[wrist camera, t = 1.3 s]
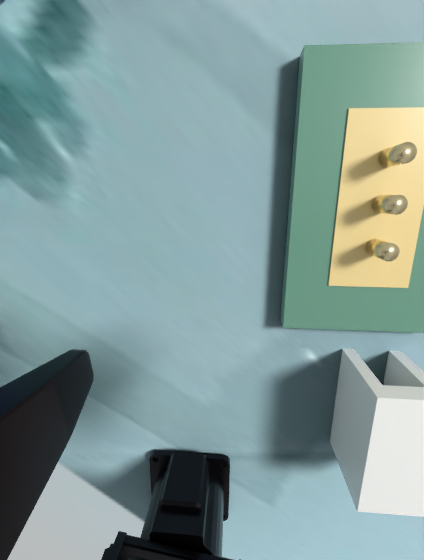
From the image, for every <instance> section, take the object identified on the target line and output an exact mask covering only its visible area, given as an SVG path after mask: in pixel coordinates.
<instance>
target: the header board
mask: <svg viewBox="0 0 424 560" xmlns="http://www.w3.org/2000/svg"><path fill="white" fill-rule="evenodd" d="M280 321H281V323H282V326H283V328H306V329H333V330H360V331H386V332H413V333H424V42H421V43H382V44H343V45H305V46H304V48H303V50H302V52H301V55H300V61H299V74H298V88H297V101H296V115H295V129H294V142H293V156H292V170H291V183H290V197H289V210H288V224H287V238H286V251H285V265H284V278H283V292H282V306H281V319H280Z"/></svg>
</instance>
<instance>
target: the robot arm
mask: <svg viewBox="0 0 424 560" xmlns="http://www.w3.org/2000/svg"><path fill="white" fill-rule="evenodd" d="M93 377H94V375H93V369H92V365H91V361H90V356H89V353H88V352H87V351H86V350H76V349H73V350H69V351H68V352H66V353H64V354H62V355H60V356H58V357H56V358H54V359H53V360H51V361H49V362H47V363H45V364H43V365H41V366H39V367H38V368H36V369H34V370H32V371H30V372H28V373H26V374H25V375H23V376H21V377H19V378H17V379H15V380H13V381H11V382H10V383H8V384H6V385H4V386H2V387H0V560H7V559H8V557H9V555H10V553H11V551H12V549H13V547H14V545H15V543H16V541H17V539H18V538H19V536H20V534H21V532H22V530H23V528H24V526H25V524H26V522H27V520H28V518H29V516H30V514H31V513H32V511H33V509H34V507H35V505H36V503H37V501H38V499H39V497H40V495H41V493H42V491H43V489H44V488H45V486H46V484H47V482H48V480H49V478H50V476H51V474H52V472H53V470H54V468H55V466H56V464H57V463H58V461H59V459H60V457H61V455H62V453H63V451H64V449H65V447H66V445H67V443H68V441H69V439H70V437H71V435H72V432H73V430H74V428H75V425H76V423H77V420H78V418H79V415H80V413H81V410H82V408H83V405H84V403H85V400H86V398H87V395H88V393H89V390H90V388H91V385H92V383H93ZM155 457H157V458H155ZM223 462H225V463H223ZM229 473H230V459H229V457H228V456H226V455H215V454H200V453H185V452H171V451H153V452H152V453H151V456H150V474H151V492H152V498H151V502H150V505H149V509H148V512H147V516H146V520H145V523H144V527H143V531H142V534H141V538H138V537H134V536H129V535H127V533H125V532H118V534H117V537H116V539H115V542H114V544H111V545H110V547H109V548H107V549H105V551H104V554H103V557H102V559H101V560H232V559H228V558H224V557H222V534H223V521H225V520H227V519H228V506H229ZM239 560H240V559H239Z"/></svg>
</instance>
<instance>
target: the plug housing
mask: <svg viewBox="0 0 424 560" xmlns="http://www.w3.org/2000/svg"><path fill="white" fill-rule="evenodd" d="M330 443H331V445H332V448H333V451H334V453H335V456H336V458H337V461H338V463H339V466H340V468H341V471H342V473H343V476H344V479H345V481H346V484H347V486H348V489H349V491H350V494H351V496H352V499H353V502H354V504H355V507H356V509H357V512H370V513H383V514H396V515H409V516H422V517H424V372H423V371H422V370H421V369H420V368H419V367H418V366H417V365H416V364H414V363H413V362H412V361H411V360H410V359H409V358H408V357H407V356H406V355H405V354H404V353H402V352H401V351H389V354H388V360H387V365H386V371H385V376H384V382H383V385H382V384H381V383H380V381H379V380H378V379H377V378H376V376H375V375H374V374H373V372H372V371H371V370H370V369H369V367H368V366H367V365H366V364H365V362H364V361H363V360H362V359H361V357H360V356H359V355H358V354H357V352H356V351H355V350H354V349H342V356H341V363H340V371H339V378H338V385H337V393H336V400H335V408H334V415H333V422H332V430H331V437H330Z"/></svg>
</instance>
